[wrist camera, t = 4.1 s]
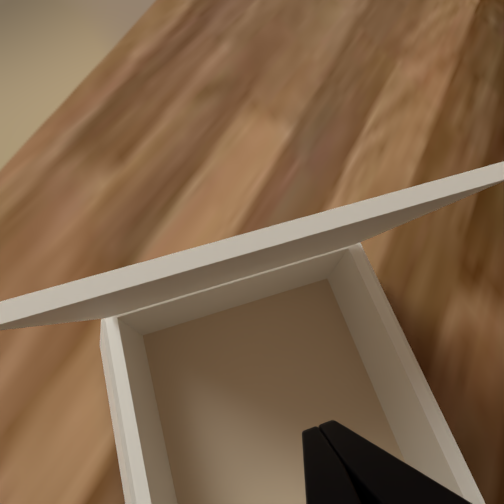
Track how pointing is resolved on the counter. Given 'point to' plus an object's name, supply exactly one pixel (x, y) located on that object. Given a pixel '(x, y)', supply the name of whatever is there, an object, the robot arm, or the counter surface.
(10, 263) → the counter surface
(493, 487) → the counter surface
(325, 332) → the carton
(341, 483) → the robot arm
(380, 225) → the carton flap
